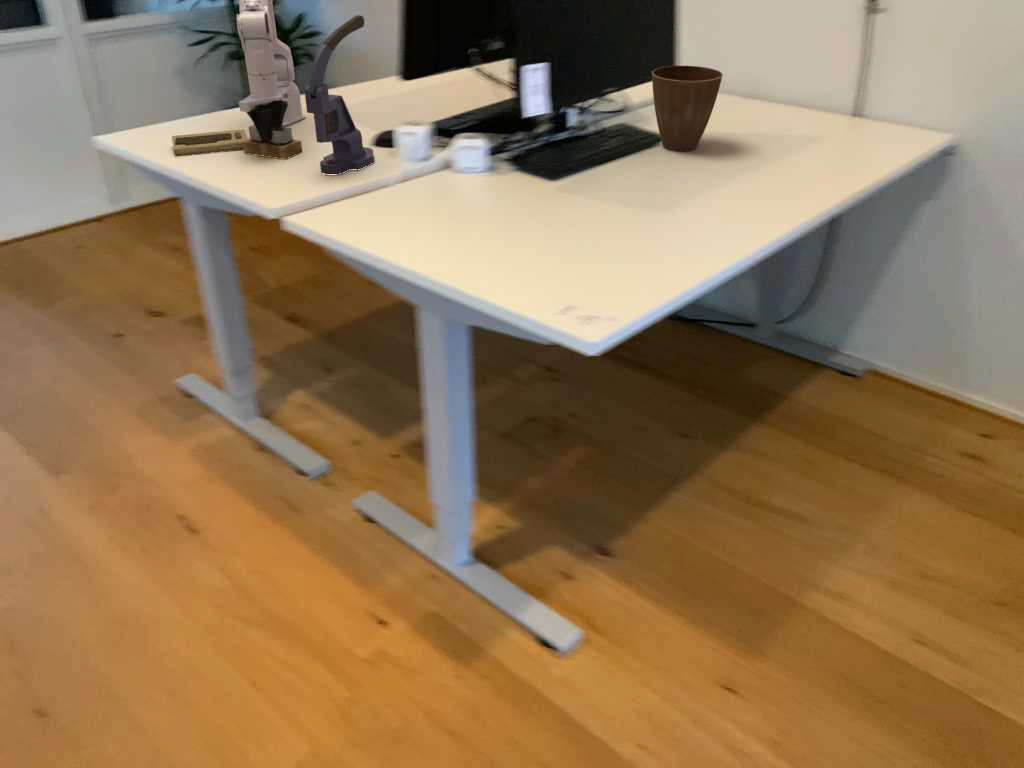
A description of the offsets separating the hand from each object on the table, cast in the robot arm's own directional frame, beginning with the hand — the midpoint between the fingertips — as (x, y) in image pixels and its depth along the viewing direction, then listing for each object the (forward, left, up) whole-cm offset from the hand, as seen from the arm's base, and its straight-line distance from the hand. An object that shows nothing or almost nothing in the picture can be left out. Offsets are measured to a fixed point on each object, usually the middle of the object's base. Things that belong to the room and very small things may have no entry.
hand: (271, 138), depth 184 cm
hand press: (0, +19, -3) cm, 20 cm away
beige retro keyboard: (+3, -15, -4) cm, 15 cm away
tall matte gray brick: (0, 0, -3) cm, 3 cm away
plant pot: (-42, +79, -3) cm, 90 cm away
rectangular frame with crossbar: (0, 0, -3) cm, 3 cm away
